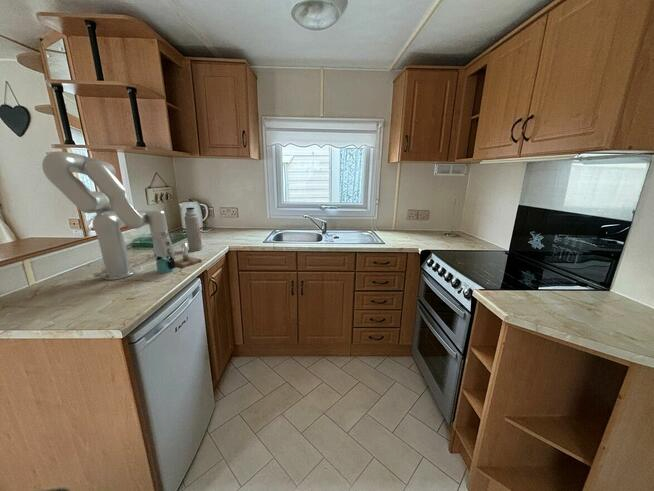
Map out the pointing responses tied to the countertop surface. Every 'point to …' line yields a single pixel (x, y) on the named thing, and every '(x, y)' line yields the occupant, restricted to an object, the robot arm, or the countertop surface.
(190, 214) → the thermos bottle
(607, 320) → the countertop surface
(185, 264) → the post board
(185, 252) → the post
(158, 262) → the teal block
